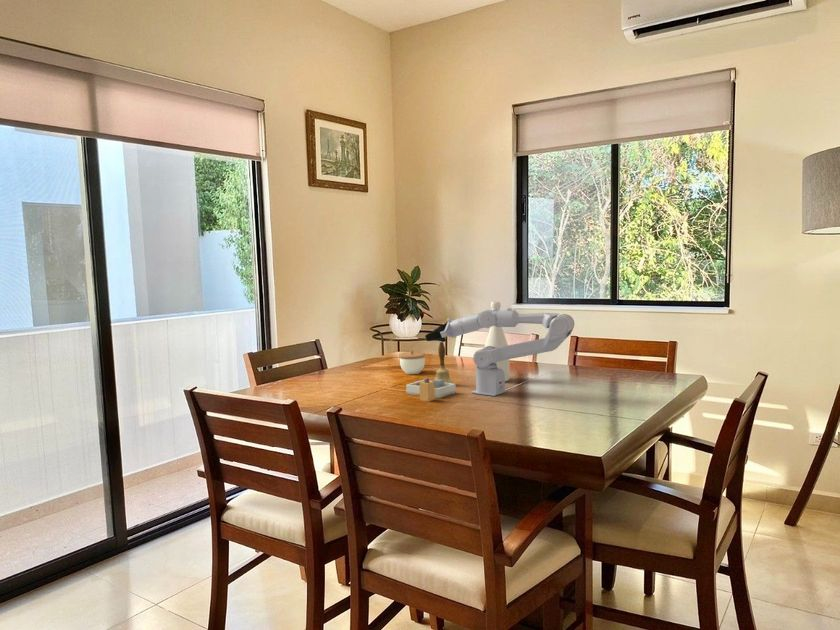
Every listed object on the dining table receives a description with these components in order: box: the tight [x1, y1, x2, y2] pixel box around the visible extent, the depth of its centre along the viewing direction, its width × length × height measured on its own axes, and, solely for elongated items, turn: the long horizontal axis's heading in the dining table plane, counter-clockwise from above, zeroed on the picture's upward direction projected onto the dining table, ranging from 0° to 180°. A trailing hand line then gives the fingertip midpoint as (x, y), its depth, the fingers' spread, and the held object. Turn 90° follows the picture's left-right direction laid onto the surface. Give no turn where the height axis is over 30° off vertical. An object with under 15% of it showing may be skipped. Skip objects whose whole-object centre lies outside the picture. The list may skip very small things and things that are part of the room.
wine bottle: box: [484, 300, 511, 383], centre depth 230 cm, size 10×10×30 cm
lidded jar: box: [398, 350, 426, 375], centre depth 252 cm, size 11×11×9 cm
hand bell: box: [434, 341, 455, 384], centre depth 226 cm, size 8×8×16 cm
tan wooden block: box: [419, 377, 436, 402], centre depth 202 cm, size 4×4×7 cm
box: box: [405, 379, 457, 399], centre depth 212 cm, size 14×10×5 cm
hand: (430, 335), depth 218 cm, fingers open, 7 cm apart
